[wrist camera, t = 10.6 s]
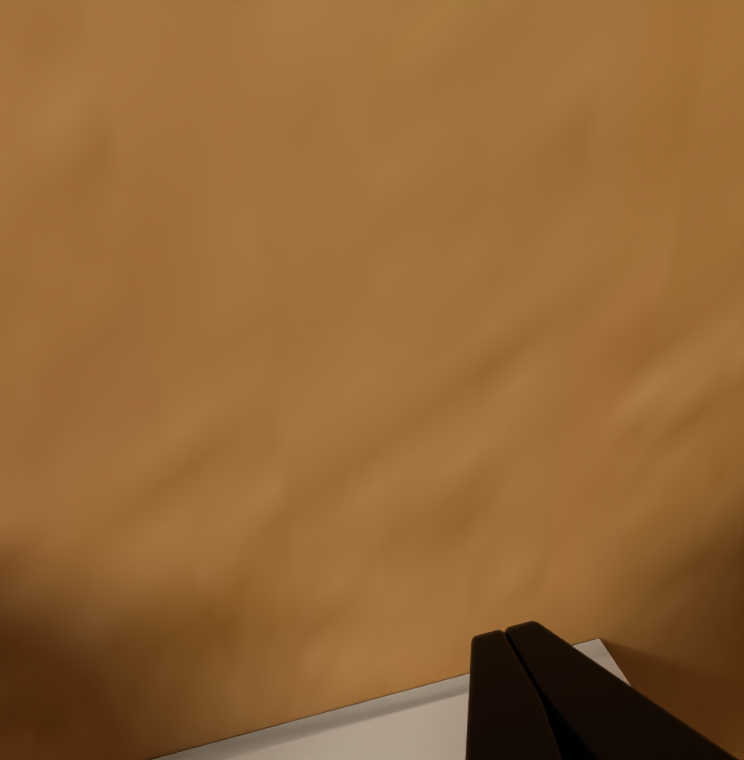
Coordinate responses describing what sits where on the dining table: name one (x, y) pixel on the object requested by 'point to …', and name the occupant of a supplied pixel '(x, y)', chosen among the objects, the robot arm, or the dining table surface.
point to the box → (374, 727)
